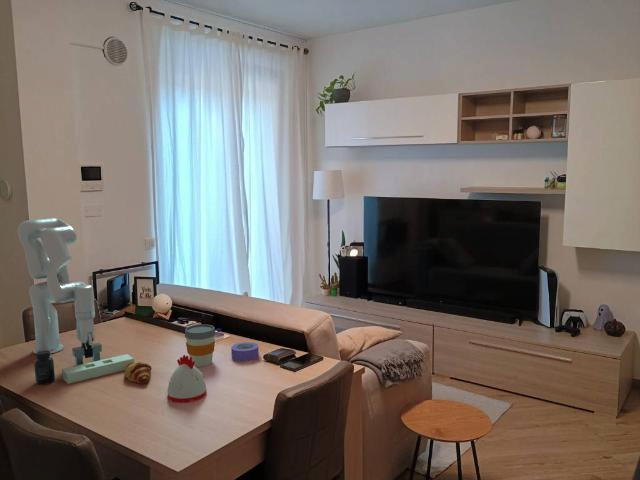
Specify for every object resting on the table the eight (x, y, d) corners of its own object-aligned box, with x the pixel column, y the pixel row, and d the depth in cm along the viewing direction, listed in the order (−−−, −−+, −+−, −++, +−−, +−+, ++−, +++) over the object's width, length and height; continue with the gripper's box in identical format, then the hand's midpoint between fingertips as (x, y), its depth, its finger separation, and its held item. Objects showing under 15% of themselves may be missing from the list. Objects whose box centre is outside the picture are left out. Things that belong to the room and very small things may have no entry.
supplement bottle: (59, 379, 216) (56, 350, 214) (45, 386, 209) (42, 356, 208) (45, 377, 218) (43, 348, 216) (31, 384, 212) (28, 354, 210)
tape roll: (226, 360, 236) (226, 348, 235) (240, 351, 247) (239, 340, 246) (250, 363, 232) (250, 352, 231) (263, 354, 242) (263, 343, 242)
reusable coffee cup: (190, 370, 224) (188, 334, 222) (182, 360, 235) (181, 326, 233) (220, 364, 230) (218, 330, 228) (211, 355, 241) (210, 322, 239)
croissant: (124, 378, 225) (114, 364, 222) (145, 363, 230) (135, 348, 227) (139, 395, 208) (128, 379, 205) (162, 378, 212) (151, 362, 209)
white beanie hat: (186, 406, 191) (184, 365, 189) (159, 397, 199) (157, 357, 197) (214, 391, 203) (212, 353, 201) (187, 384, 210) (185, 346, 208)
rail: (62, 378, 217) (62, 368, 216) (128, 363, 233) (127, 354, 232) (67, 383, 211) (67, 373, 211) (134, 367, 228) (133, 358, 227)
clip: (73, 364, 231) (72, 348, 230) (99, 358, 238) (99, 342, 237) (75, 366, 229) (74, 350, 228) (102, 360, 235) (101, 344, 234)
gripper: (70, 311, 234) (72, 352, 237) (81, 320, 221) (84, 363, 224) (88, 308, 239) (90, 349, 241) (100, 317, 226) (102, 359, 229)
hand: (87, 355), depth 233 cm, fingers closed on clip, 3 cm apart
